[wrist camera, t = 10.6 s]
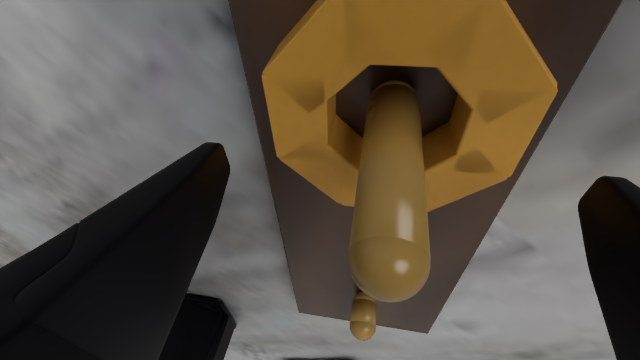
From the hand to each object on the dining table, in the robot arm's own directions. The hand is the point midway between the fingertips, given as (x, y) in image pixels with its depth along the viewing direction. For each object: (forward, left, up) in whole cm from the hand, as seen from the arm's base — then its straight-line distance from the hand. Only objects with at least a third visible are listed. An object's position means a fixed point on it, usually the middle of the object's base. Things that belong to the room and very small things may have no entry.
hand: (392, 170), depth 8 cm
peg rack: (0, -8, -5) cm, 9 cm away
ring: (0, 0, -4) cm, 4 cm away
